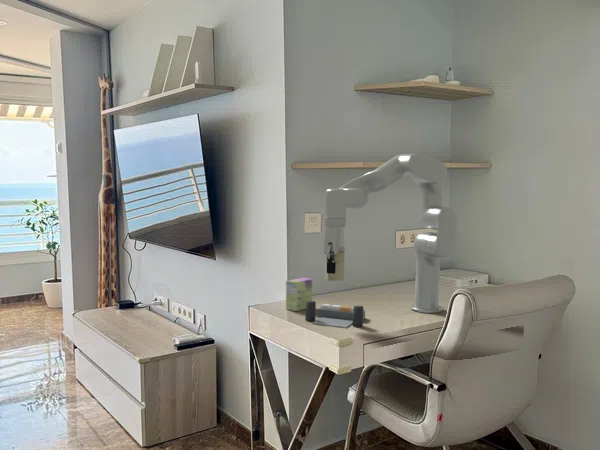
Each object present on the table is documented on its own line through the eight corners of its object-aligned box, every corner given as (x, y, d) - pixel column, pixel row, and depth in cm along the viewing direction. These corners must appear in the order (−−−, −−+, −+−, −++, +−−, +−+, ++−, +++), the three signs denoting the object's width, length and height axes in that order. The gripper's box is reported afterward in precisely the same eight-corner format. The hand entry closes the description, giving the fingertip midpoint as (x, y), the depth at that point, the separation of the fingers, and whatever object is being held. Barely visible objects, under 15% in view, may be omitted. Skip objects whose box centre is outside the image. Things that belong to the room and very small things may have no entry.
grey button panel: (323, 313, 218) (323, 302, 218) (365, 318, 211) (365, 306, 211) (307, 323, 203) (307, 311, 202) (352, 328, 196) (352, 316, 196)
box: (301, 305, 232) (301, 277, 231) (312, 307, 228) (312, 278, 227) (285, 309, 224) (285, 280, 223) (296, 311, 220) (296, 282, 219)
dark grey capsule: (353, 324, 202) (354, 305, 202) (363, 325, 201) (364, 306, 201) (351, 326, 199) (352, 307, 198) (361, 327, 198) (362, 308, 197)
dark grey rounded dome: (307, 318, 209) (307, 300, 209) (316, 319, 208) (317, 301, 208) (304, 320, 206) (304, 302, 206) (313, 321, 205) (314, 303, 204)
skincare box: (327, 281, 199) (328, 247, 198) (324, 279, 204) (324, 246, 203) (344, 280, 201) (345, 247, 200) (340, 278, 205) (341, 245, 204)
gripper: (333, 220, 210) (332, 267, 211) (316, 224, 194) (316, 274, 195) (352, 221, 207) (351, 269, 209) (337, 225, 191) (336, 276, 193)
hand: (334, 271), depth 202 cm, fingers closed on skincare box, 6 cm apart
